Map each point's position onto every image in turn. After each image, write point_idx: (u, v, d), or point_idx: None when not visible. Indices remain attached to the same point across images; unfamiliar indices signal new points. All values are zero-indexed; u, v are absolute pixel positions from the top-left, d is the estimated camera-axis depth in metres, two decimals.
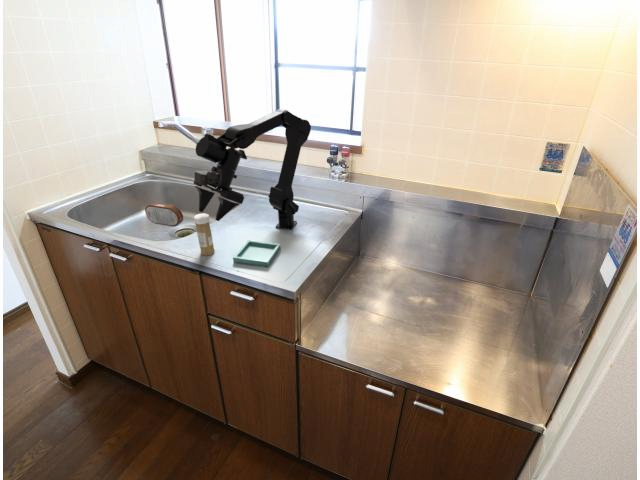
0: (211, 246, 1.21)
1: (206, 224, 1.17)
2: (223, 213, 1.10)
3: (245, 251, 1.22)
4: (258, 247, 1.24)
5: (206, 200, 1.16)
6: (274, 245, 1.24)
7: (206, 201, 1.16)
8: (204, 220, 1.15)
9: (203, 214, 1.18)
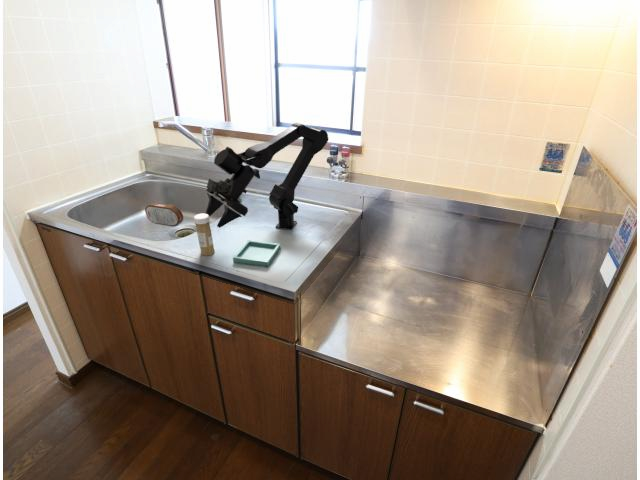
0: (211, 246, 1.21)
1: (206, 224, 1.17)
2: (225, 221, 1.16)
3: (245, 251, 1.22)
4: (258, 247, 1.24)
5: (214, 208, 1.24)
6: (274, 245, 1.24)
7: (213, 209, 1.24)
8: (204, 220, 1.15)
9: (203, 214, 1.18)
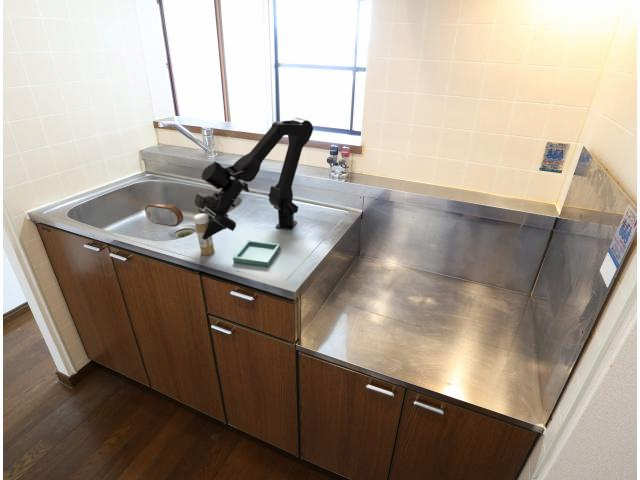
0: (211, 246, 1.21)
1: (206, 224, 1.17)
2: (210, 233, 1.17)
3: (245, 251, 1.22)
4: (258, 247, 1.24)
5: None
6: (274, 245, 1.24)
7: None
8: (204, 220, 1.15)
9: (203, 214, 1.18)
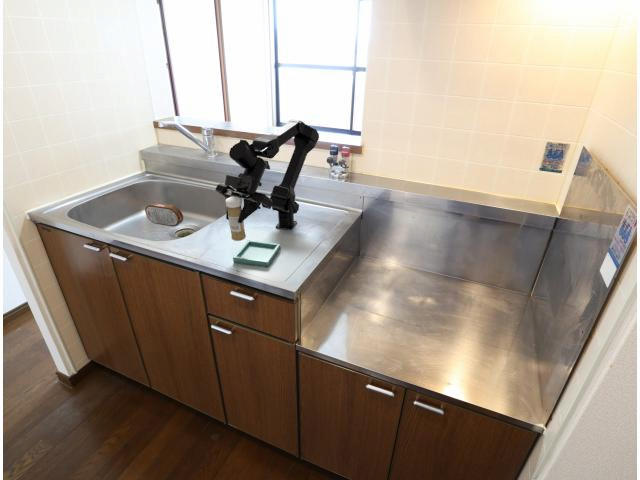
0: (244, 230, 1.16)
1: (240, 207, 1.12)
2: (245, 216, 1.13)
3: (245, 251, 1.22)
4: (258, 247, 1.24)
5: None
6: (274, 245, 1.24)
7: None
8: (239, 203, 1.10)
9: (233, 197, 1.12)
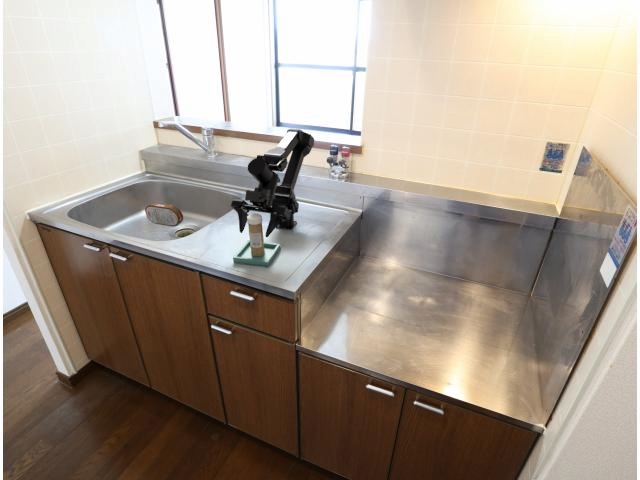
0: (263, 245, 1.20)
1: (261, 223, 1.15)
2: (272, 229, 1.15)
3: (245, 251, 1.22)
4: None
5: (244, 221, 1.19)
6: (274, 245, 1.24)
7: (244, 223, 1.19)
8: (261, 219, 1.14)
9: (254, 214, 1.15)
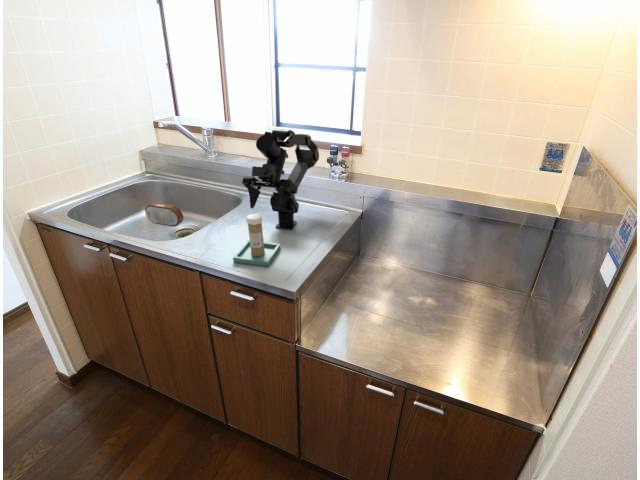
0: (263, 245, 1.20)
1: (261, 223, 1.15)
2: (280, 203, 1.19)
3: (245, 251, 1.22)
4: None
5: (255, 197, 1.24)
6: (274, 245, 1.24)
7: (255, 199, 1.24)
8: (260, 219, 1.14)
9: (253, 214, 1.15)
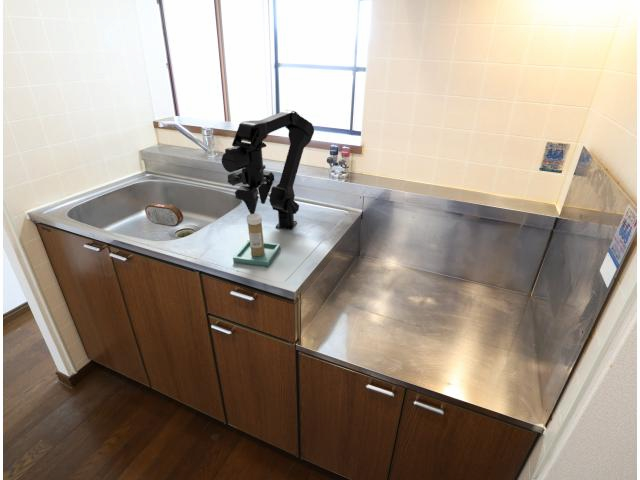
0: (263, 245, 1.20)
1: (261, 223, 1.15)
2: (251, 208, 1.18)
3: (245, 251, 1.22)
4: None
5: (264, 193, 1.26)
6: (274, 245, 1.24)
7: (264, 194, 1.27)
8: (260, 219, 1.14)
9: (253, 214, 1.15)
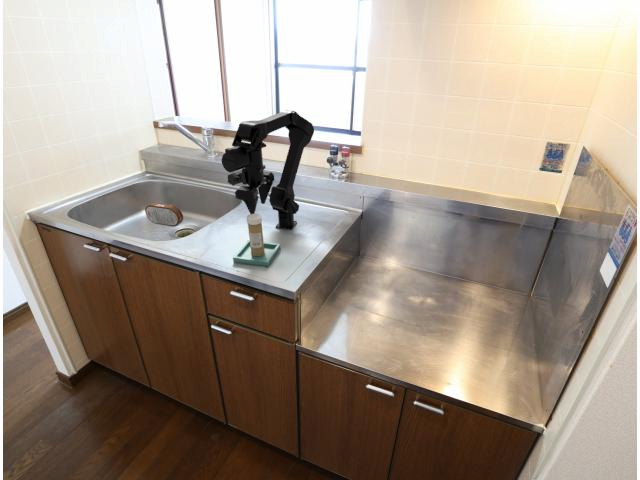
0: (263, 245, 1.20)
1: (261, 223, 1.15)
2: (251, 208, 1.18)
3: (245, 251, 1.22)
4: None
5: (264, 193, 1.26)
6: (274, 245, 1.24)
7: (264, 194, 1.27)
8: (260, 219, 1.14)
9: (253, 214, 1.15)
